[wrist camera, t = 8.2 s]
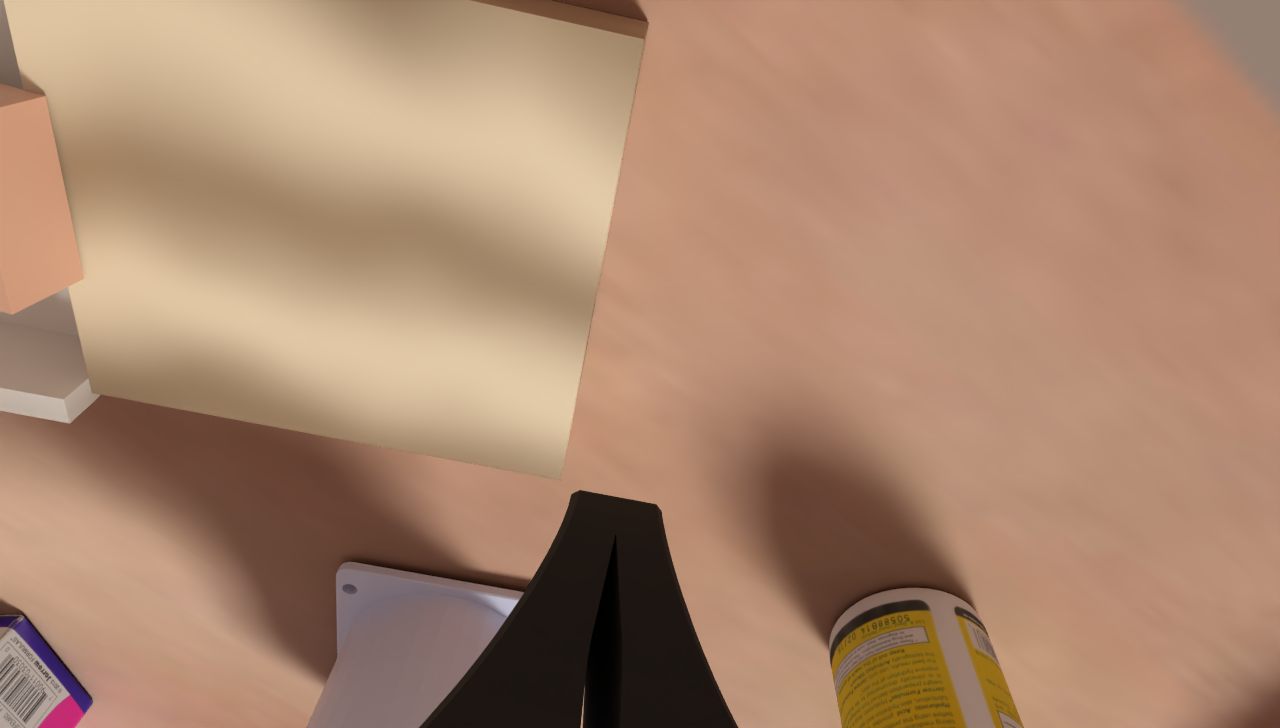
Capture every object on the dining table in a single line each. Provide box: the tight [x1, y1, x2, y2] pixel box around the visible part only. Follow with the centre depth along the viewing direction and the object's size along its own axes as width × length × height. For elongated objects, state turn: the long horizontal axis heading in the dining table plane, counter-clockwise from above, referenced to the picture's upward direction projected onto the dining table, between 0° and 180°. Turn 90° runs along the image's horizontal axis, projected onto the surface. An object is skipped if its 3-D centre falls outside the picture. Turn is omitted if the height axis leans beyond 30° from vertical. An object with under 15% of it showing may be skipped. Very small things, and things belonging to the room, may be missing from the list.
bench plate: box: [3, 0, 649, 480], centre depth 19 cm, size 12×13×2 cm
